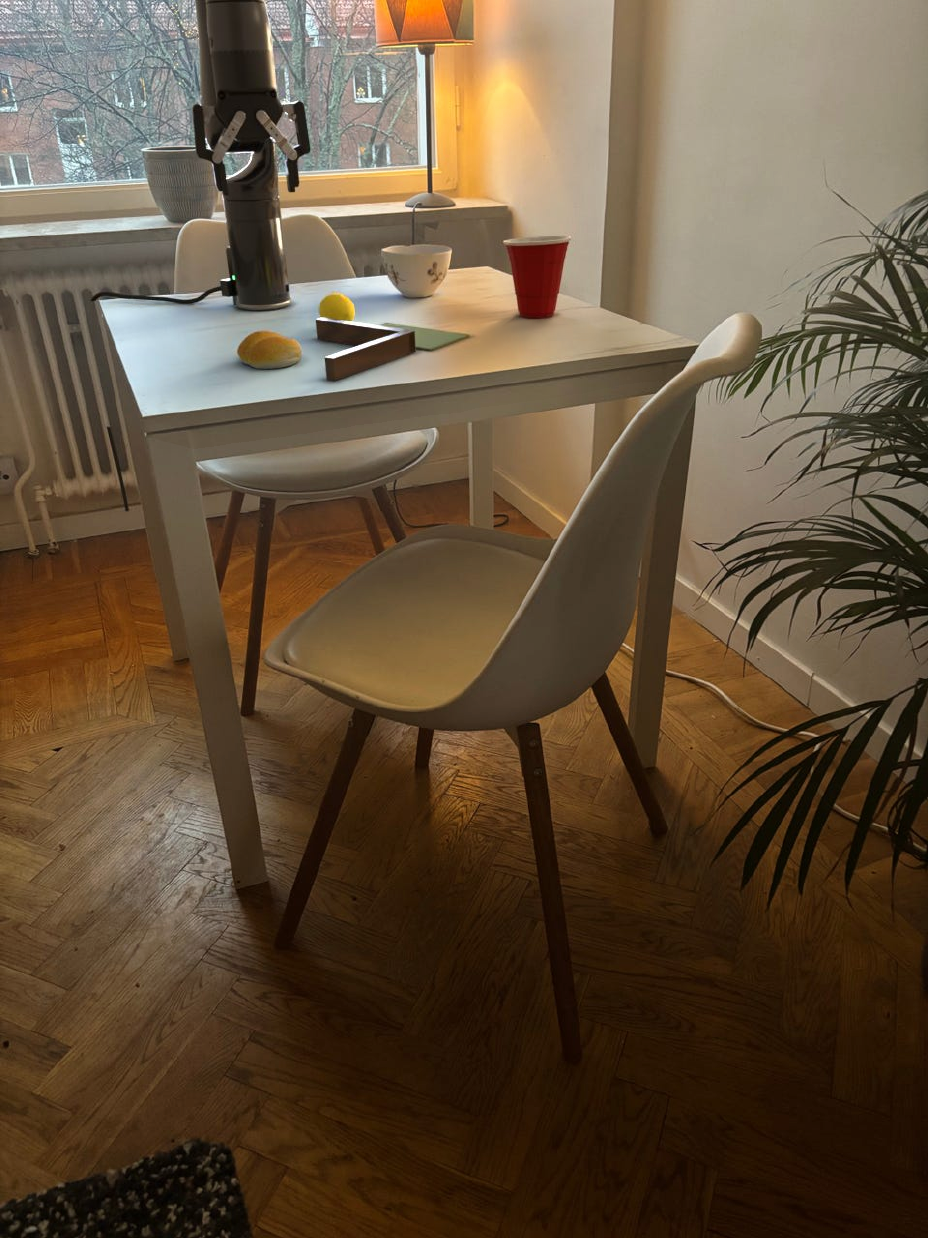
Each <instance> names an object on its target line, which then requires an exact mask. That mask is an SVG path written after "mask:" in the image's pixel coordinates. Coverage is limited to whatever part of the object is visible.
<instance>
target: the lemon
mask: <svg viewBox="0 0 928 1238" xmlns="http://www.w3.org/2000/svg"><path fill="white" fill-rule="evenodd" d="M355 313H356V310H355V305H354V303H353V301H351V299H350V298H349V297H348V296H346V295H344V294H343V293H340V292H339V293H338V292H331V293H329V294H325V296H324V297H323V298H322V299H321V300H320V302H319V305H318V315H319V316H320V317H319V318H329V319H336V320H343V321H350V322H354V321H353V320H354V319H355V315H356V314H355Z"/></svg>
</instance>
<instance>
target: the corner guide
mask: <svg viewBox="0 0 928 1238" xmlns="http://www.w3.org/2000/svg"><path fill="white" fill-rule="evenodd" d="M378 325H379V324H378ZM378 325H377V324H371V323H364V322H357V321H352V322H350V321H343V320H336V319H329V318H321V317H319V318H315V328H316V329H315V330H316V338H317V339H316V340H318V341H325V342H330V343H337V344H343V345H349V346H354V347H351V348H347V349H344V350H342V351H339V352H335V353H333V354H329V355H327V356H324V368H325V377H326V381H331V382H337V381H340V380H343V379H346V378H349V377H351V376H354V375H357V374H359V373H362V372H365V371H367V370H371V369H373V368H376V367H378V366H381V365H383V364H387V363H389V362H392V361H394V360H398V359H400V358H403V357H406V356H409V355H411V354H414V353H416V350H417V349H415V331H413V330H406V329H399V328H392V327H385V326H378Z"/></svg>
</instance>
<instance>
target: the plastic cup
mask: <svg viewBox="0 0 928 1238" xmlns="http://www.w3.org/2000/svg"><path fill="white" fill-rule="evenodd" d="M571 240H572V237H571V236H570V235H539V236H538V235H537V236H526V237H525V236H524V237H516V238H508V239H505V240H504V239H503V241H502V242H503V245H504V246H505V248H506V250H507V254H508V258H509V262H510V268H511V274H512V280H513V287H514V294H515V296H516V303H517V304H516V305H517V311H518V313H519V316H520V317H523V318H526V319H544V318H551V317H553V316H554V315H555V311H556V307H557V301H558V295H559V293H560V287H561V284H562V283H561V282H562V276H563V270H564V266H565V265H564V264H565V259H566V256H567V252H568V247H569V244H570V241H571Z"/></svg>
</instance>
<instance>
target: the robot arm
mask: <svg viewBox="0 0 928 1238" xmlns="http://www.w3.org/2000/svg"><path fill="white" fill-rule="evenodd" d="M194 1H195V11H196V19H197V20H196V21H197V22H196V23H197V32H198V45H199V46H198V47H199V76H200V77H199V78H200V81H199V82H200V104H199V103H194V104H193V105H192V107H191V115H192V123H193V126H192V127H193V137H194V147H195V148H194V149H195V154H196V156H197V157H198V158H199V159H202V160H204V161H208V162H210V163H211V165H212V170H213V176H214V185H215V188H216V190H217V191H218V192H221V194H222V195H221V196H222V200H223V208H224V215H225V222H226V230H227V238H228V245H229V246H227V247H226V249H225V254H226V262H227V268H228V276H229V278H228V277H227V278H223V279H220V280H219V284H220V285H218V286H215V287H213V288H210V289H208V290H206V291H204V292H203V293H202V294H200V295H199V296H197V297H194V298H191V299H189V298H188V299H181V298H175V297H168V296H157V295H156V296H155V295H141V294H124V293H119V292H113V291H99V292H97V293H95V294H94V295H93V296H92V298H91V299H90V302H96V301H97V300H98V299H99V298H101V297H113V298H118V299H123V300H137V301H138V300H141V301H153V302H155V301H157V302H169V303H173V304H174V303H175V304H183V305H190V304H196V303H199V302H201V301H203V300H205V298H206V297H209V296H210V295H212V294H215V293H217V292H220V291H221V296H222V297H227V298H232V304H233V306H235V307H237V308H238V309H241V310H248V311H268V310H269V311H270V310H276V309H282V308H285V307H288V306H290V305H291V304H292V298H291V292H290V281H289V273H288V262H287V255H286V254H287V253H286V244H285V236H284V225H283V217H282V208H281V199H280V190H279V171H278V157H277V147H278V149H279V150H280V151H281V153H282V154H283V155H284V156H285V159H284V167H285V177H286V187H287V192H288V193H296V188H299V186H300V176H299V165H298V161H299V159H300V158H301V157H303V156H305V155H309V154H310V152H311V143H310V142H311V141H310V135H309V129H308V128H309V127H308V122H307V115H306V108H305V104H304V102H302V101H299V100H295V101H293V102H288V103H282V102H281V101H280V98H279V95H278V86H277V85H278V84H277V77H276V68H275V59H274V50H273V49H274V48H273V46H274V40H273V37H272V31H271V22H270V18H269V15H268V9H267V4H266V2H267V1H266V0H194ZM284 113H285V114H286V115H287V118H288V120H289V121H291V122H294V129H295V134H296V140H297V145H295V146H292V145H291V144H290V142H289V141H288V140H287V138H286V137H285V136H284V135H283V133H282V132H281V131H280V129H279V128H278V127H277V126H278V124H279V122H280V120H281V118H282V116H283V115H284ZM207 146H208V148H207ZM240 153H241V154H242V153H244V154H245V153H251V154H250V155H251V156H250V160H249V162H248V164H247V165H245V167H243V168H242V169H241V170H239V171H238V172H236V173H234V174H233V175H231V176H228V177H227V171H226V164H225V163H224V161H223V160H224V157H225V156H226V154H240ZM106 430H107V434H108V439H109V443H110V447H111V451H112V456H113V461H114V464H115V469H116V473H117V477H118V482H119V486H120V487H119V488H120V492H121V495H122V496H121V497H122V501H123V506H124V511H125V512H130V508H129V503H128V497H127V494H126V488H125V484H124V479H123V475H122V474H123V473H122V471H121V466H120V462H119V457H118V453H117V449H116V445H115V439H114V437H113V436H114V435H113V432H112V427H110V426H106Z"/></svg>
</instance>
